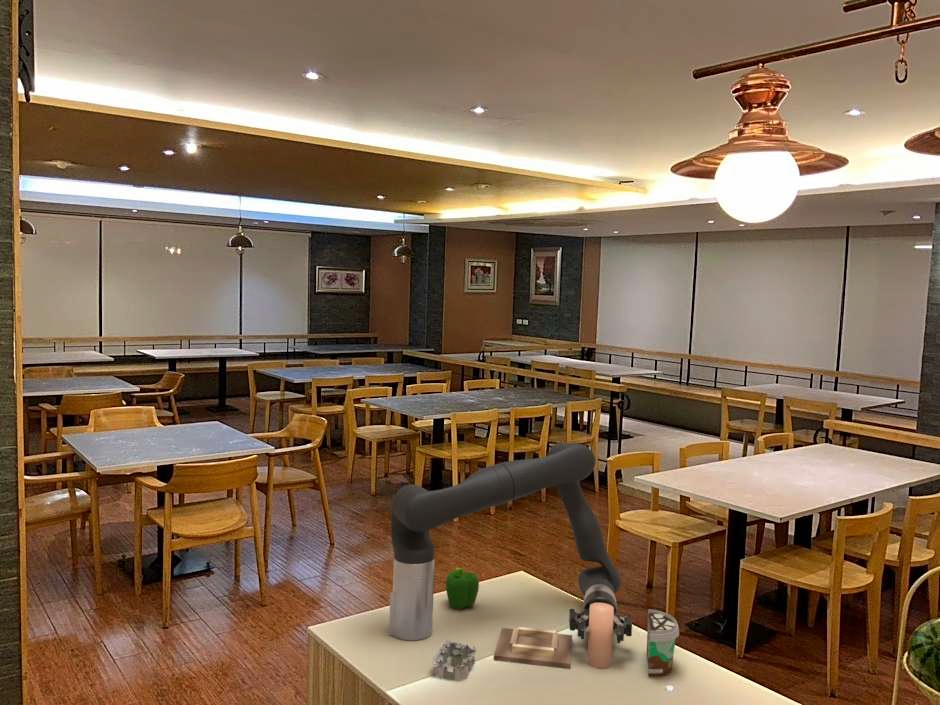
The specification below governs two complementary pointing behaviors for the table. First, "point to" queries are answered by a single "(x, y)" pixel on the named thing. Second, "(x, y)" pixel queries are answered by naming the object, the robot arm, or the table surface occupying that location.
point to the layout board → (534, 647)
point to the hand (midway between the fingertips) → (600, 636)
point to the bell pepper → (461, 588)
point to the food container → (660, 643)
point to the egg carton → (454, 660)
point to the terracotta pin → (600, 635)
